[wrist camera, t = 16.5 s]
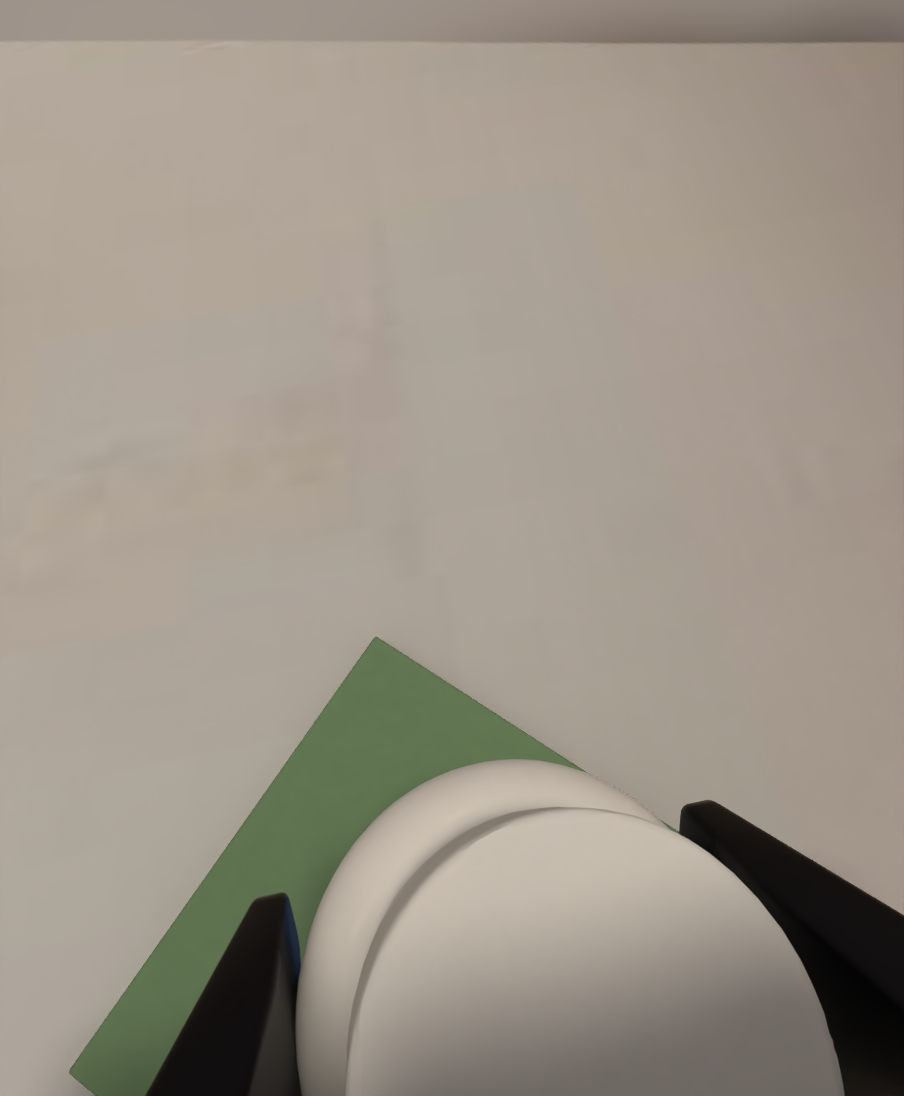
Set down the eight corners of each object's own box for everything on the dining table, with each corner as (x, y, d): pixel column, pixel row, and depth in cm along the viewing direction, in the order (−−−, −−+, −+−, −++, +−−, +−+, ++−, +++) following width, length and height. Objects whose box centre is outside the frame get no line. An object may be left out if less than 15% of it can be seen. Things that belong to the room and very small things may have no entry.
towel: (809, 920, 17) (821, 922, 17) (612, 1512, 13) (621, 1538, 12) (376, 639, 19) (375, 635, 19) (76, 1065, 15) (67, 1073, 14)
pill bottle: (328, 1084, 13) (158, 1693, 4) (344, 789, 15) (263, 723, 6) (604, 1074, 13) (1055, 1600, 4) (580, 788, 15) (838, 723, 6)
